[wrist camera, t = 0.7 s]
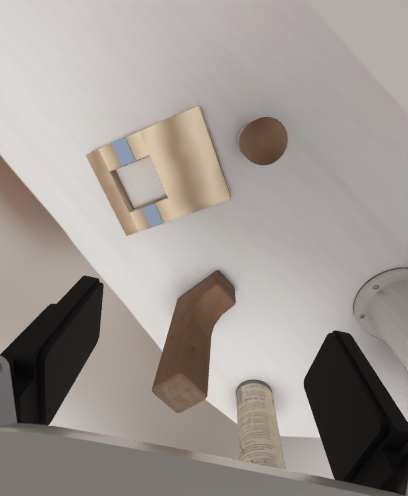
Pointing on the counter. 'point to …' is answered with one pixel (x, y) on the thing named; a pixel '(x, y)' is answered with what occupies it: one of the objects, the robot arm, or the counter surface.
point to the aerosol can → (258, 425)
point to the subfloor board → (164, 170)
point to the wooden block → (191, 343)
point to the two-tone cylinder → (263, 140)
